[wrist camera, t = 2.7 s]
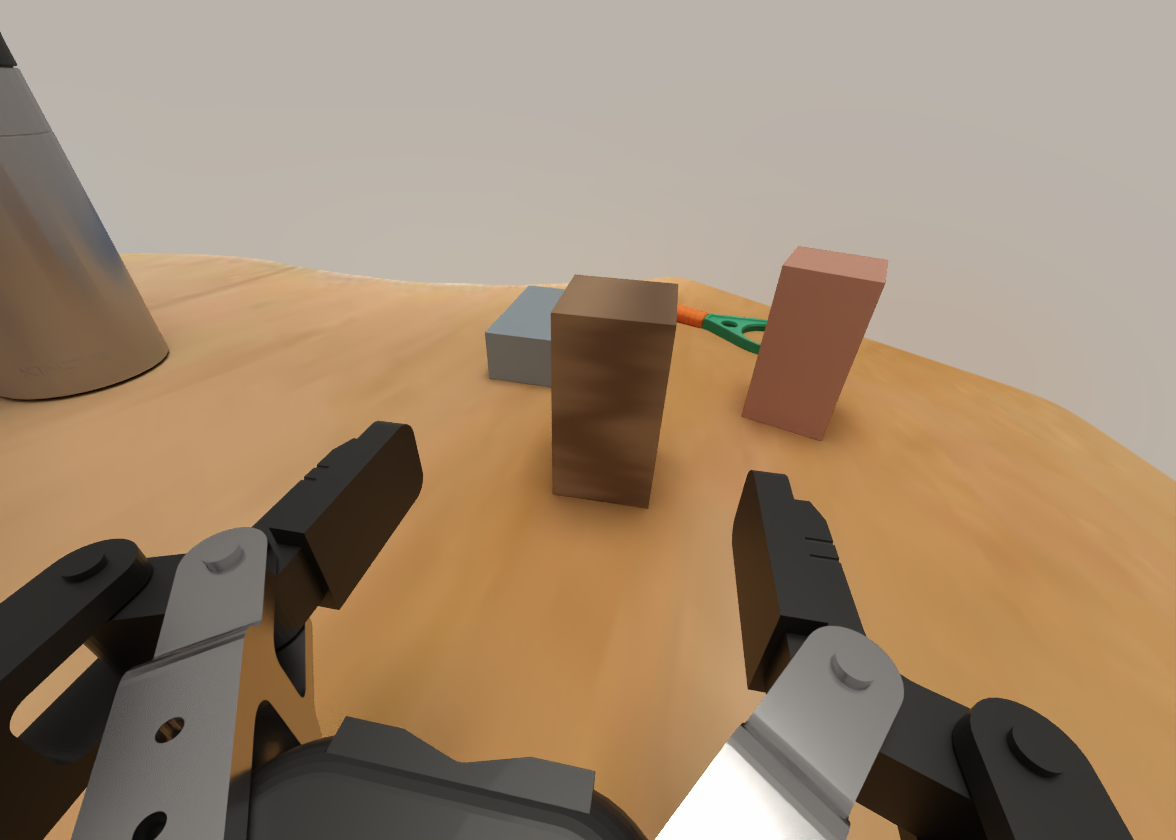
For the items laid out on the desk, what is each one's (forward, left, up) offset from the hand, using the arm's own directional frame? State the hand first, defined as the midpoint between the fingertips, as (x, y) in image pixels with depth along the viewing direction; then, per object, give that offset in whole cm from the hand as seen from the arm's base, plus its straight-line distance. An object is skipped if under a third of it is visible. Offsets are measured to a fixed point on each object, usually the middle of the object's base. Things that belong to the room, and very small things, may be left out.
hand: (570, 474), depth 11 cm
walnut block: (-7, +9, -10) cm, 15 cm away
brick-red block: (-4, +23, -10) cm, 25 cm away
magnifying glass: (-16, +30, -10) cm, 35 cm away
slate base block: (-19, +16, -10) cm, 27 cm away
